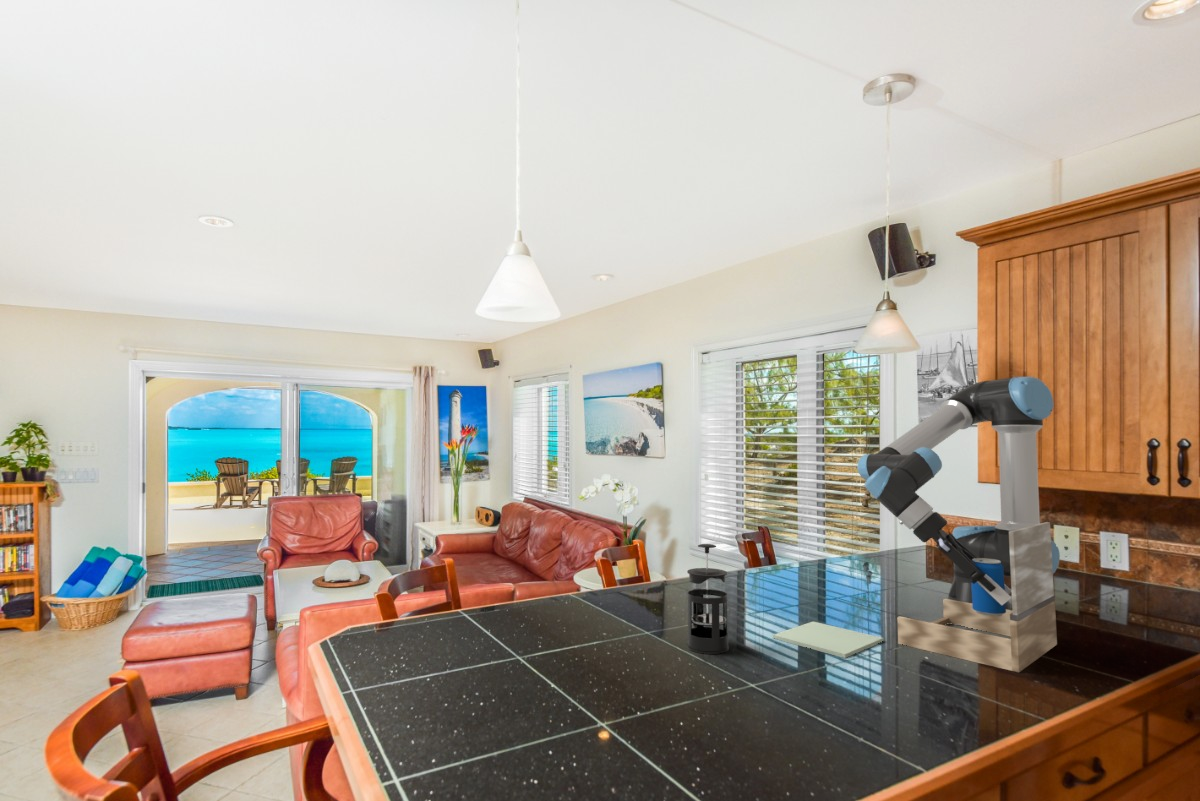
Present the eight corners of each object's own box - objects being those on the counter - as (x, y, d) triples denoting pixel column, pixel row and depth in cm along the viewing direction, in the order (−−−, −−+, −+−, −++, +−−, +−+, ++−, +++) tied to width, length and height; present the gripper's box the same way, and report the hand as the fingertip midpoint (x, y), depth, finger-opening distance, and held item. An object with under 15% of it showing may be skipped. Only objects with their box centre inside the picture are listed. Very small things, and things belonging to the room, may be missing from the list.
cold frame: (898, 643, 143) (894, 521, 145) (945, 622, 161) (941, 513, 163) (1019, 672, 124) (1013, 532, 127) (1057, 644, 143) (1051, 522, 145)
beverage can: (996, 610, 144) (993, 557, 145) (1012, 617, 137) (1009, 563, 138) (967, 609, 144) (964, 557, 145) (981, 617, 138) (978, 562, 139)
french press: (737, 653, 135) (736, 547, 137) (697, 656, 133) (697, 548, 135) (715, 637, 146) (714, 539, 148) (677, 640, 144) (677, 540, 146)
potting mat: (772, 638, 146) (772, 634, 146) (813, 624, 158) (813, 621, 158) (845, 658, 133) (844, 654, 133) (883, 641, 144) (883, 637, 144)
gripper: (916, 526, 159) (995, 599, 148) (905, 536, 143) (992, 618, 132) (939, 506, 156) (1020, 579, 146) (929, 514, 140) (1020, 596, 130)
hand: (1006, 597), depth 139 cm, fingers closed on beverage can, 6 cm apart
